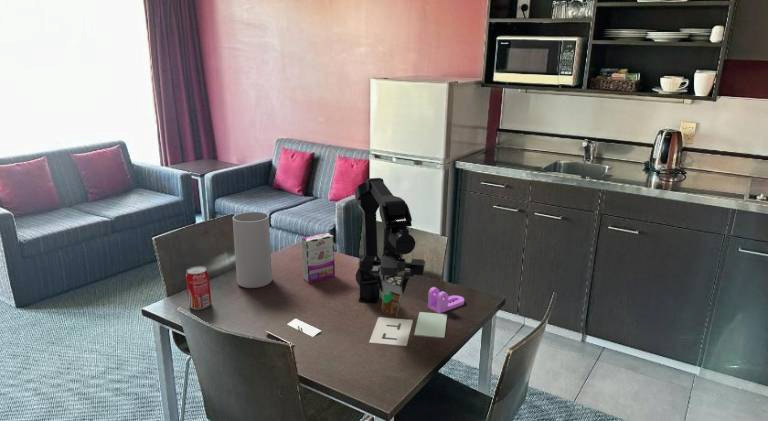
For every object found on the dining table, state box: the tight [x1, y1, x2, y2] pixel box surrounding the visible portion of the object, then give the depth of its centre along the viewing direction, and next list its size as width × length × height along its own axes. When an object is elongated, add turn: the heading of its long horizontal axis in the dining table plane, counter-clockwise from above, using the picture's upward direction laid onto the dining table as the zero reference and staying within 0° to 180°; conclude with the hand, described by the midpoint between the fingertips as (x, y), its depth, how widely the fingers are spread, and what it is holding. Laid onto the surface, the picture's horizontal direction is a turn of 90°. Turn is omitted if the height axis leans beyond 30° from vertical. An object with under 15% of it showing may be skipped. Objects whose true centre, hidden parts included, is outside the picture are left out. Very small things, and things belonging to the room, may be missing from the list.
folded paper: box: [264, 318, 322, 346], centre depth 163 cm, size 12×12×2 cm
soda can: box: [185, 265, 212, 311], centre depth 178 cm, size 7×7×13 cm
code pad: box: [368, 316, 414, 347], centre depth 165 cm, size 11×16×1 cm
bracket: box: [427, 286, 465, 314], centre depth 182 cm, size 13×6×7 cm, turn 127°
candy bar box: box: [301, 232, 336, 284], centre depth 201 cm, size 11×5×16 cm, turn 123°
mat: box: [413, 311, 448, 339], centre depth 169 cm, size 9×15×1 cm, turn 171°
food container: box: [381, 272, 405, 319], centre depth 161 cm, size 12×6×10 cm, turn 171°
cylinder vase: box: [232, 211, 273, 289], centre depth 196 cm, size 12×12×25 cm
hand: (392, 291), depth 162 cm, fingers closed on food container, 6 cm apart
